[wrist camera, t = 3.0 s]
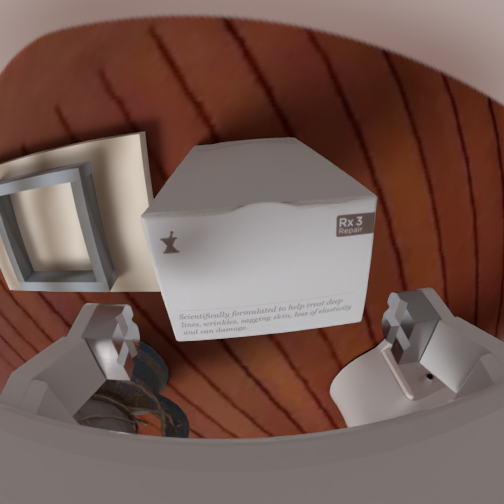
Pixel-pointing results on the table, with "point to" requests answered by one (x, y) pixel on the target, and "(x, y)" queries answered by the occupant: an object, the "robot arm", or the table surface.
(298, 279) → the skincare box
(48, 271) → the board
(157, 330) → the table surface
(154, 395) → the lantern
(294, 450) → the robot arm
